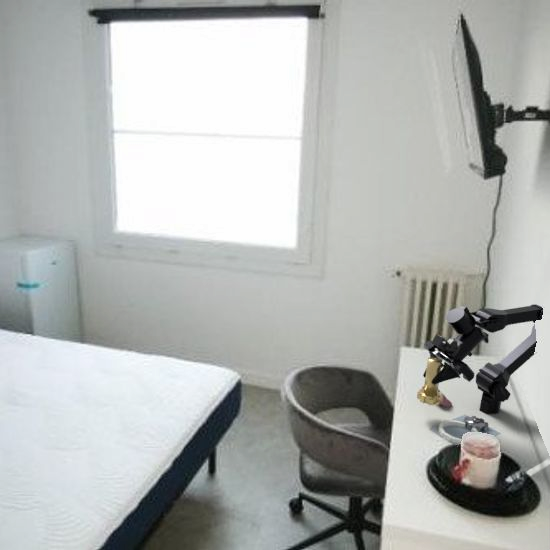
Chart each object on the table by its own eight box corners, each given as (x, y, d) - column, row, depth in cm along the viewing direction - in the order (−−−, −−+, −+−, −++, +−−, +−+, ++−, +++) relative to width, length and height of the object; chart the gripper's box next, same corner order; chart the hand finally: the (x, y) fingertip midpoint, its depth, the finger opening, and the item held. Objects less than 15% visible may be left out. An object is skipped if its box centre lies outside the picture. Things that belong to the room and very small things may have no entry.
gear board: (464, 417, 157) (465, 410, 157) (499, 436, 148) (501, 429, 147) (428, 432, 148) (429, 425, 147) (463, 453, 138) (465, 446, 138)
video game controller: (423, 400, 170) (418, 384, 167) (434, 392, 171) (429, 377, 168) (442, 414, 161) (437, 398, 159) (454, 407, 162) (448, 390, 160)
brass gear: (427, 391, 158) (433, 353, 154) (446, 402, 152) (452, 362, 149) (412, 397, 154) (417, 357, 150) (431, 408, 148) (437, 367, 145)
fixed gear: (472, 418, 155) (473, 411, 154) (492, 428, 150) (493, 421, 149) (458, 424, 151) (459, 416, 151) (478, 435, 146) (479, 427, 145)
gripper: (433, 315, 157) (397, 351, 156) (471, 338, 139) (431, 378, 139) (451, 337, 161) (416, 372, 161) (491, 362, 144) (452, 401, 143)
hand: (428, 380), depth 151 cm, fingers closed on brass gear, 4 cm apart
